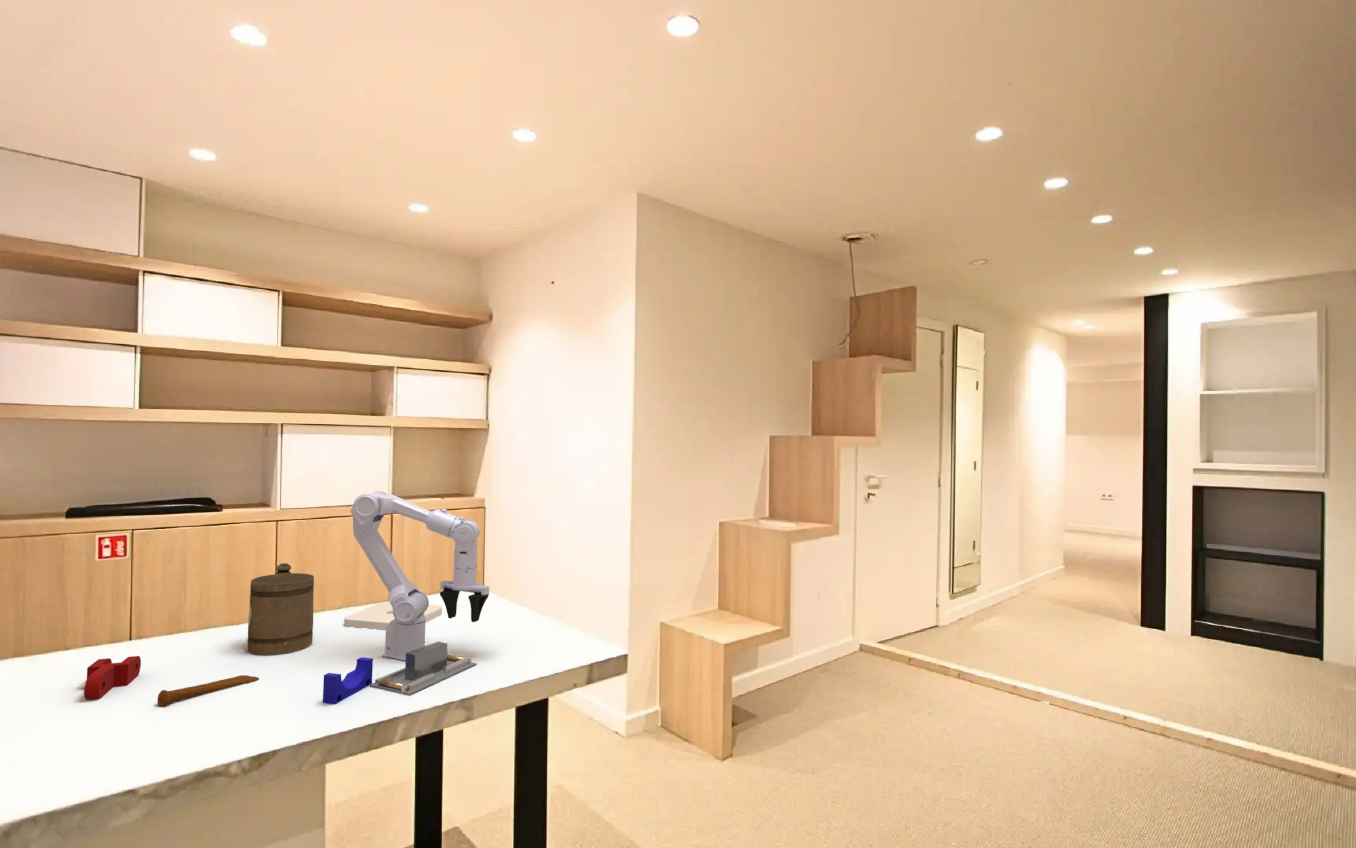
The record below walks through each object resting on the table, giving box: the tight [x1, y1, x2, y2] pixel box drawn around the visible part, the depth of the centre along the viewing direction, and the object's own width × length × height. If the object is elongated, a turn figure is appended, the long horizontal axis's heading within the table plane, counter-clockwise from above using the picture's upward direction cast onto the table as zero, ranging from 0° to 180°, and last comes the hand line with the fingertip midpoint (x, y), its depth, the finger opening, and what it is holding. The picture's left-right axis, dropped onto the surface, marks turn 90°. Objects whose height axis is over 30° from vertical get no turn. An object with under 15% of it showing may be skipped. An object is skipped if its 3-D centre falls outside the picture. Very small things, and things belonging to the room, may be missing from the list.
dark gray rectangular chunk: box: [404, 641, 448, 681], centre depth 157 cm, size 3×10×6 cm, turn 154°
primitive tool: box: [157, 674, 260, 708], centre depth 143 cm, size 19×6×4 cm, turn 157°
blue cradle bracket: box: [322, 656, 374, 705], centre depth 145 cm, size 12×4×6 cm, turn 169°
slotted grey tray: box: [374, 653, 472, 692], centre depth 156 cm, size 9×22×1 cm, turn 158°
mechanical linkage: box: [83, 655, 142, 700], centre depth 144 cm, size 16×7×5 cm, turn 23°
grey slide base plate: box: [369, 660, 477, 696], centre depth 156 cm, size 12×22×1 cm, turn 158°
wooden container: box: [247, 563, 315, 656], centre depth 174 cm, size 15×15×22 cm
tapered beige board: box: [343, 601, 443, 631], centre depth 203 cm, size 22×22×3 cm
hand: (463, 619), depth 171 cm, fingers open, 7 cm apart
